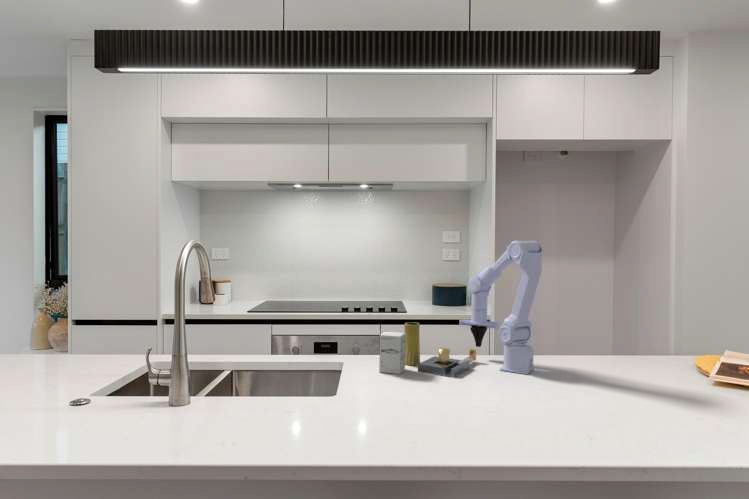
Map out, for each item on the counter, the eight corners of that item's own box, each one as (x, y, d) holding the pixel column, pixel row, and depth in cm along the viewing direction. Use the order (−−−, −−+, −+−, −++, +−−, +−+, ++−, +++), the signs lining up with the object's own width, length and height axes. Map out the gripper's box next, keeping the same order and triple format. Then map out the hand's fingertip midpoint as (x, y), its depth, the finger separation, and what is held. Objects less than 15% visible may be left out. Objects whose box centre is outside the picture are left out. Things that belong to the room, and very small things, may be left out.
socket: (469, 368, 175) (469, 361, 175) (454, 377, 164) (454, 369, 164) (434, 363, 182) (434, 356, 181) (417, 371, 171) (417, 363, 170)
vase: (400, 362, 182) (400, 322, 182) (415, 360, 185) (415, 321, 184) (408, 366, 177) (408, 325, 176) (423, 364, 179) (424, 324, 179)
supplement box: (378, 372, 169) (378, 334, 168) (384, 367, 176) (385, 330, 175) (400, 374, 167) (400, 336, 166) (405, 369, 174) (406, 332, 173)
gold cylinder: (450, 369, 173) (451, 349, 173) (446, 371, 170) (446, 351, 170) (441, 368, 175) (441, 347, 175) (436, 370, 172) (436, 349, 172)
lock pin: (476, 359, 184) (476, 349, 184) (461, 368, 172) (461, 357, 172) (471, 358, 185) (471, 349, 184) (456, 367, 173) (456, 356, 173)
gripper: (456, 309, 188) (456, 346, 188) (495, 312, 181) (495, 350, 181) (463, 306, 194) (462, 342, 194) (501, 310, 187) (500, 346, 188)
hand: (478, 346), depth 188 cm, fingers closed
